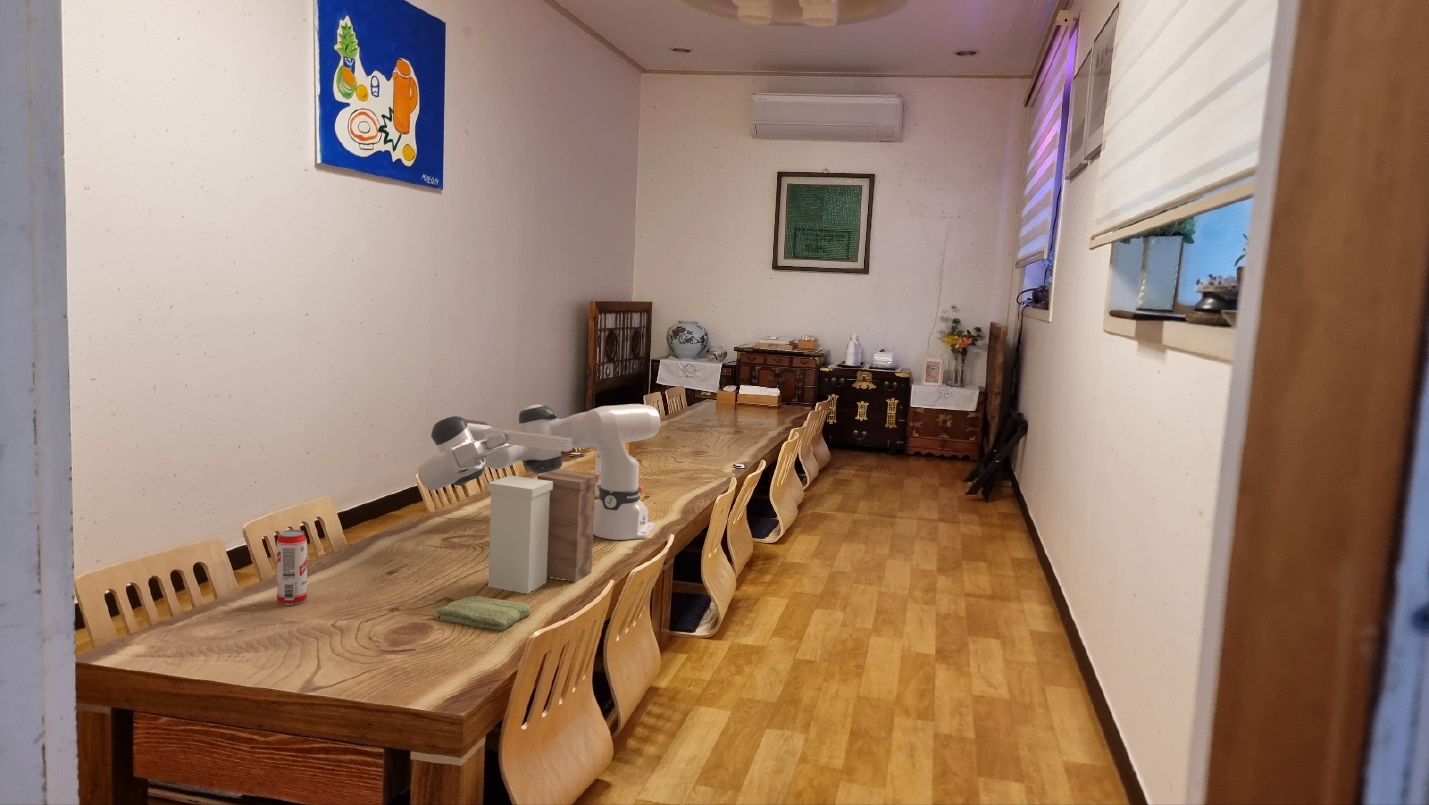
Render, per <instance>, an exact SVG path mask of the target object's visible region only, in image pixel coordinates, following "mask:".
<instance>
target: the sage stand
mask: <svg viewBox="0 0 1429 805" xmlns="http://www.w3.org/2000/svg"><path fill="white" fill-rule="evenodd" d="M487 486H488V487H487V488H488V489H487V491H488V492H490V510H489V511H490V513H489V514H490V515H489V552H488V581H487V582H488V585H487V586H488V588H493V589H499V590H503V589H504V590H505V591H509V592H514V591H515V593H519V592H520V594H525V593H526V594H525V595H529V594H531V593H532V592H531V591H533V590H534V591H536V590H537V589H536V588H537V587H539V586H540V585H543V584H544V585H546V584H547V579H548V578H547V553H548V527H549V500H550V490H552V489H553V481H547V480H540V479H537V478H533V477H526V476H525V477H523V476H516V475H507V476H505V477H501V478H498V479H495V480H493V481H490V482H488V483H487ZM545 583H546V584H545ZM544 585H543V586H544ZM539 588H540V587H539ZM535 589H536V590H535ZM504 590H503V591H504ZM534 591H533V592H534ZM530 592H531V593H530ZM528 593H529V594H528Z"/></svg>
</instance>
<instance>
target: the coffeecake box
mask: <svg viewBox="0 0 1429 805" xmlns="http://www.w3.org/2000/svg"><path fill="white" fill-rule="evenodd" d="M594 464H595V465H594V466H595V467H594V474H595V475H598V483H596V484H595V498H599V487H600V486H601V460H600V456H599V453H598V451H597V449H596V448H595V463H594Z"/></svg>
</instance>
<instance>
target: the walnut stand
mask: <svg viewBox="0 0 1429 805" xmlns="http://www.w3.org/2000/svg"><path fill="white" fill-rule="evenodd" d="M536 479H540V480H547V481H553V489H552V490H550V500H549V527H548V553H547V577H553V578H559V579H565V580H569V581H573V582H572V583H575V582H576V581H577V582H578V580H579V579H580V580H582V579H583V578H582V577H584V578H585V577H587V576H588V575H590V574H591V573H592V569H593V568H592V565H593V564H592V563H593V545H594V542H593V540H594V534H593V523H594V506H595V500H596V497H595V484H596V483H598V475H595V473H588V472H582V471H581V472H580V471H575V470H574V471H573V470H566V469H565V470H564V469H556V470H553V471H550V472H547V473H545V474H539V475H537V478H536ZM581 578H582V579H581ZM580 580H579V581H580ZM569 581H568V582H569ZM577 582H576V583H577Z"/></svg>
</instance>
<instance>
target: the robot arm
mask: <svg viewBox="0 0 1429 805" xmlns="http://www.w3.org/2000/svg"><path fill="white" fill-rule="evenodd" d="M558 415H560V413H559V412H555V411H554V410H553V409H552V408H551V407H550V406H548V405H543V404H531V405H528V406H527V407H525V408H524V409H523V410H521V411H520V412H519V414H518V424H519V425H520V432H527V433H535V434H543V435H551V436H559V437H567V438H573V443H572V449H588V448H595V450H596V449H597V451H598V453H599V456H600V460H601V486H600V487H599V497H598V501H596V502H594V523H593V536H596V537H598V538H602V539H607V540H614V541H615V540H616V541H617V540H618V541H620V540H621V541H624V540H627V541H628V540H634V539H647V537H649V535H650V534H651V533H652V532H653V530H654V528H656V523H655V522H653V521H649V509H648V507H647V506H646V505H645V504H644V503H643V502H642V500H641V494H642V493H643V491H644V487H643V486H642V485H641V486H639V471H640V465H639V461H638V460H637V459H636V458H635V457H634V456H632V455H631V454H629V452H628V451H627V443H634V442H638V441H639V442H640V441H643V440H647V439H650V438H652V437H655V436H656V435H657V434H658V433H659V430H660V428H661V415H660V414H659V412H658V410H657V409H656V407H654V406H653V405H648V404H641V403H631V404H630V403H629V404H617V405H615V404H614V405H602V406H599V407H596V408H593V409H590V410H588V411H584V412H579V413H575V414H572V415H570V416H567V417H565V418H559V417H557V416H558ZM488 428H493V426H491V425H490V424H488V423H487V422H485V421H480V420H473V419H466V418H464V417H461V416H457V415H454V416H453V415H452V416H447V417H444V418H443V419H440V420H439V421H437V422H436V423H434V425H433V427H432V429H431V434H430V437H431V439H432V440H433V442H434V444H435V445H436V446H437V449H438V451H439V452H438V453H437V454H435V455H433V456H431V457H430V458H428V459H426V460H425V461H424V462H423V463H421V465H419V466H418V468H417V475H418V478H419V480H420V482H421V484H422V486H423V487H424V488H425V489H426V490H429V491H436V490H439V489H442V488H445V487H447V486H450V485H454V486H459V487H461V486H464V485H466V484H468V482H470V481H473V480H475V479H477V478H478V479H479V478H480V477H482V475H483V474H484V471H485V468H486V467H487V468H489V469H493V470H502V469H505V468H508V467H511V466H513V465H515V464H516V463H518V462H521V461H522V462H524V464H522V467H523V468H525V467H526V468H527V469H528V470H529V471H530V472H532V473H533V474H535V475H538V474H539V475H542V474H545V473H547V472H550V471H553V470H556V469H559V470H561V467H562V466H563V455H562V451H557V450H550V449H542V448H534V447H527V446H519V445H512V444H504V443H502V442H505V441H507V440H508V438H507V436H506V434H502V435H500V436H498V437H495V438H493V439H491V438H487V439H484V429H488Z"/></svg>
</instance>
